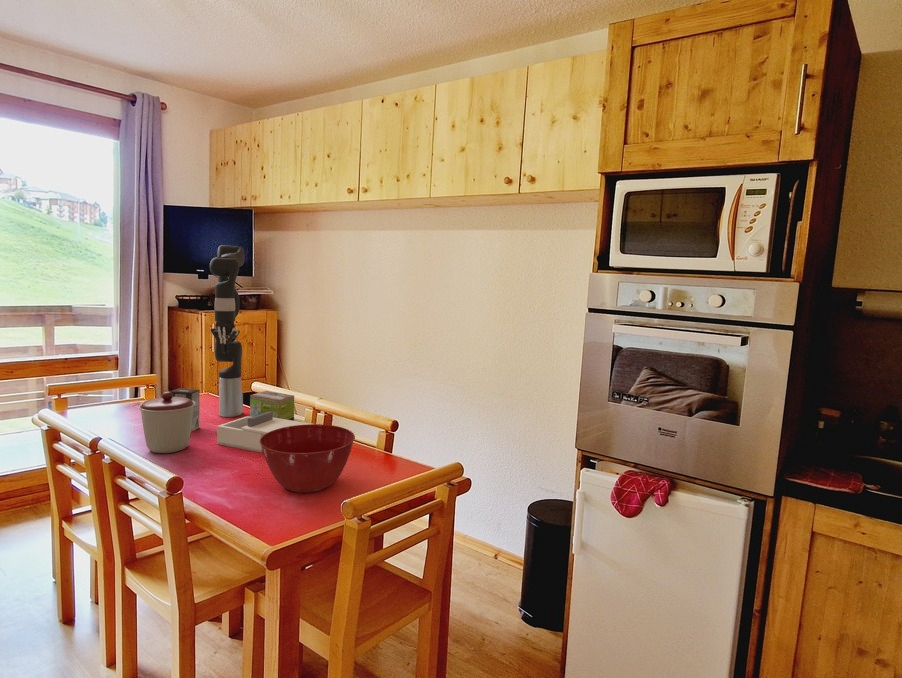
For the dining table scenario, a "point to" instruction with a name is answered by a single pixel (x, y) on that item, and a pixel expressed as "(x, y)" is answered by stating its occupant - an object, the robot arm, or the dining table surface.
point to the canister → (167, 422)
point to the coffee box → (194, 396)
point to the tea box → (272, 404)
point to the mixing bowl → (307, 455)
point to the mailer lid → (268, 423)
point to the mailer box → (239, 435)
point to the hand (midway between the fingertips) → (225, 352)
